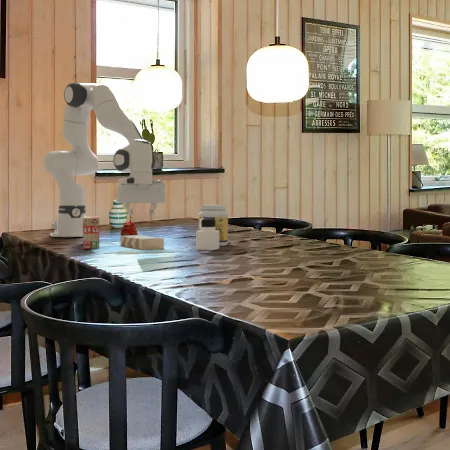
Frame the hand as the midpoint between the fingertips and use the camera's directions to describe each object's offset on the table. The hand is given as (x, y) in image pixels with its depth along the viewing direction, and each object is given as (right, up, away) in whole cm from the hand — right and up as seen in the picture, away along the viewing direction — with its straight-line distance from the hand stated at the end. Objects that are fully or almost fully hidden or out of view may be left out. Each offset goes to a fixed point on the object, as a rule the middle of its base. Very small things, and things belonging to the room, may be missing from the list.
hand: (141, 214), depth 262 cm
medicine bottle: (+27, -14, -10) cm, 32 cm away
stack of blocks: (-21, -13, +4) cm, 25 cm away
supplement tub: (+29, -13, +7) cm, 32 cm away
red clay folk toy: (-8, -12, +22) cm, 27 cm away
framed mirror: (0, -13, +1) cm, 13 cm away
